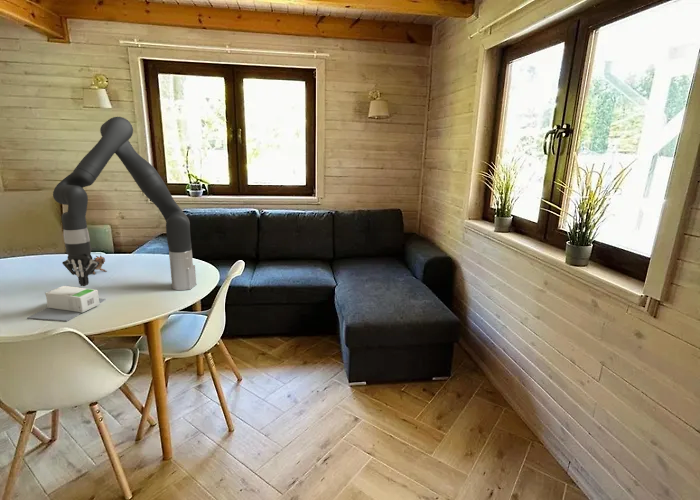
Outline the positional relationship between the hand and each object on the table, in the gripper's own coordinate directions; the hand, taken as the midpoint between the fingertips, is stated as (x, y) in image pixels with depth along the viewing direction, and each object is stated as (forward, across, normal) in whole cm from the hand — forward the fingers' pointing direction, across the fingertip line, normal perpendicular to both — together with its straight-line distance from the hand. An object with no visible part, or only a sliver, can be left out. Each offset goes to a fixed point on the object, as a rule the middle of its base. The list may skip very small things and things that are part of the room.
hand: (84, 285), depth 143 cm
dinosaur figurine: (+10, +27, -40) cm, 50 cm away
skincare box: (+6, -2, 0) cm, 7 cm away
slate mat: (+10, +8, 0) cm, 13 cm away
